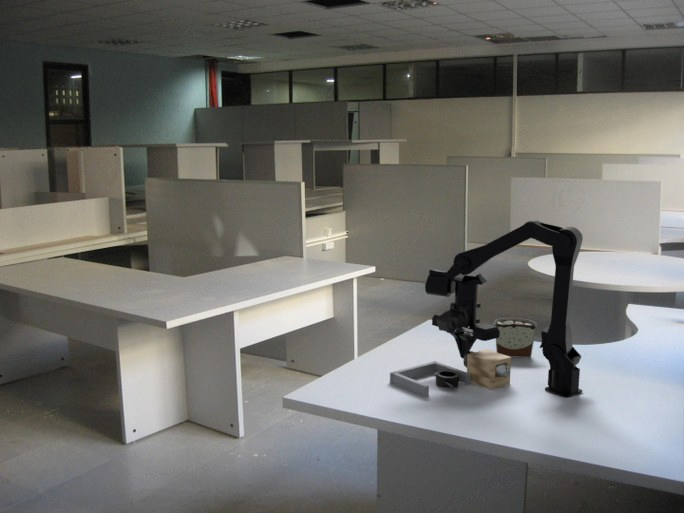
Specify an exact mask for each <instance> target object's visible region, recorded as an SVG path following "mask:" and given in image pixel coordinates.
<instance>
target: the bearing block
mask: <svg viewBox="0 0 684 513" xmlns="http://www.w3.org/2000/svg"><path fill="white" fill-rule="evenodd" d="M473 352H474V353H470V354H468V356H467V368H466V372H467V373H470V374H471V384H474V385H477V386H479V387H482V388H485V389H488V390H490V391H492V390H495V389H499V388H502V387H505V386H509V385H510V384H511V369H512V365H511V364H512V357H509V356H506V355H503V354H500V353H497V351H493V350H490V349H486V348H485V349H482V350H478V351H473ZM498 364H502V365H505V366H508V367H509V368H510V373H509V375H508V376H507V377H506V378H505V377H502V376H499V375H496V374H495V369H496V365H498Z"/></svg>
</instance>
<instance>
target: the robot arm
mask: <svg viewBox="0 0 684 513" xmlns="http://www.w3.org/2000/svg"><path fill="white" fill-rule="evenodd" d="M530 239H533V240H535V241H538V242H539V243H542V244H544V245H547V246H550V247H551V250H552V256H553V260H554V264H555V270H554V280H553V282H554V283H553V294H552V306H551V316H550V324H549V325H548V326H546V327H545V328H544V329H542V330H541V342H540V345H539V348H540V349H541V352H542V355H543V356H544V358H545V359H546V360H547V361H548V364H549V369H548V375H547V386H546V387H544V390H545V391H547V392H550V393H551V394H552V393H553V394H555V395H559V396H562V397H565V398H570V397H572V396H574V395H578V394H580V393H581V394H582V393H583V389H580V388H579V387H580V376H581V375H580V373H581V372H580V371H581V368H579V367H578V366H577V365H578V364H579V362H580V361H581V358H582V355H581V354H580V353H579V352H578V351H577V349H576V348H575V347H574V346H573V335H572V330H571V325H570V316H571V302H572V293H573V282H574V272H575V271H574V270H575V265H576V262H577V259H578V257H579V254H580V250H581V249H582V248H581V247H582V244H583V241H584V240H583V233H582V232H581V231H580V230H579V229H578V228H577V227H574V226H566V227H563V226H558V225H554V224H550V223H545V222H541V221H539V220H537V219H532V220H529V221H526V222H525V223H524V224H523V225H520V226H519V227H517V228H515V229H513V230H511V231H509V232H508V233H507V232H506V234H504V235H502V236H500V237H498V238H496V239H494V240H492V241H490V242H487V243H486V244H483V245H480V246H477V247H476V246H475V247H473V248H469V249H467V250H464V251H461V252H459V253H457V254H456V255H455V256H454V258H453V264H452V266H451V267H450V268H449V269H448V270H440V269H437V268H431V269H429V272H428V273H429V274H428V275H427V278H426V281H425V284H424V288H425V293H426V295H428V296H437V297H443V298H445V297H446V298H450V296H452V294H454V302H450V306H449V307H450V308H449V310H446V311H445V312H439V313H435V314H434V315H433V317H432V319H431V325H432V326H435V327H438V330H439V331H442V332H445V333H447V334H450V335H451V336H452V337H453V338H454V340H455V343H456V346H457V349H458V353H459V356H460V358H461V359H462V360H464V356H465V355H466V353H467V352H469V351H471V349H472V348H473V346H474V344H475V342H476V341H477V340H478V341H483V342H486V341H491V340H496V338H499V337H500V330H499V328H498V327H497V326H493V325H494V324H489V323H483V324H481V322H480V321H481V319H480V318H477V315H478V314H477V312H478V309H480V308H481V304H482V303H479V302H478V296H479V295H478V293H479V285H480V286H481V285H484V284H486V283H487V281H488V280H487V279H486V278H485V277H484V276H483V275H482V273H478V274H476V275H470V274H473V273H474V272H476V271H478V270H480V269H481V268H482V267H484V266H485V265H486V264H487V263H488V262H490V261H491V260H492V259H494V258H495V257H496V256H499V255H500V254H502V253H504V252H506V251H508V250H510V249H512V248H514V247H516V246H518V245H520V244H522V243H524V242H526V241H528V240H530ZM460 275H463V277H458V276H460ZM477 324H481V325H477Z"/></svg>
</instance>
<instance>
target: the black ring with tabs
mask: <svg viewBox="0 0 684 513" xmlns="http://www.w3.org/2000/svg"><path fill="white" fill-rule="evenodd" d="M435 385H436V386H437V387H440V388H442V389H459V387H460V382H459V373H457V372H455V371H450V370H441V371H438V372H436V373H435Z"/></svg>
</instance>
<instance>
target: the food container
mask: <svg viewBox="0 0 684 513" xmlns="http://www.w3.org/2000/svg"><path fill="white" fill-rule="evenodd" d="M492 325H493V326H497V327H498V328H499V330H500V337H499V338H496V339H495V346H496V348H495V349H496V351H495V352H497V353H500V354H503V355H506V356H509V357H511V358H521V357H523V358H528V359H532V353H533V348H534V341H535V336H536V331H539V329H538V325H537V322H536V321H534V320H531V319H527V318H523V317H502V318H497V319H495V321H494V322H493V324H492ZM523 358H522V359H523Z"/></svg>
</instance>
